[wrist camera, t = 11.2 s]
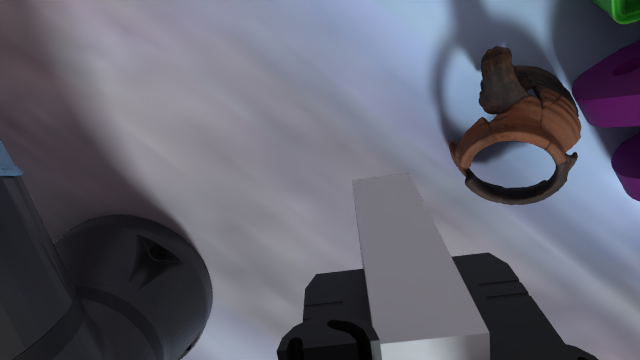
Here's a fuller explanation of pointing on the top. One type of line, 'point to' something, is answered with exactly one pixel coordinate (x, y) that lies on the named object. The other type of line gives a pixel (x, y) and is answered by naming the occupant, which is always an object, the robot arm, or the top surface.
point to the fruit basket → (621, 10)
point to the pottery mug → (520, 125)
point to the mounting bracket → (615, 107)
